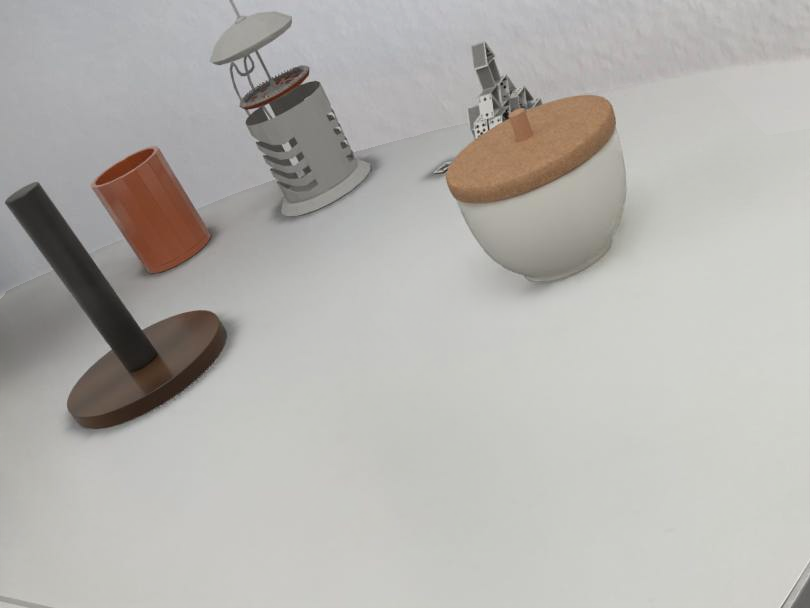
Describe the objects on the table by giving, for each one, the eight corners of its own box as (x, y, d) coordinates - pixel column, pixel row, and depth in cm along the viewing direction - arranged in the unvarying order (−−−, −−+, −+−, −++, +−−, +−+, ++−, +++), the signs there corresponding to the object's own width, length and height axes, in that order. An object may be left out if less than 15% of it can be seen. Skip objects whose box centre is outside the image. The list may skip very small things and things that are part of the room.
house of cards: (469, 127, 91) (435, 39, 86) (553, 103, 86) (523, 8, 81) (431, 176, 86) (392, 85, 81) (518, 153, 81) (483, 55, 76)
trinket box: (606, 196, 69) (563, 55, 62) (676, 238, 60) (633, 80, 54) (471, 272, 69) (414, 139, 63) (522, 324, 61) (462, 177, 55)
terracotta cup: (135, 272, 101) (79, 188, 95) (188, 232, 104) (136, 147, 98) (168, 275, 96) (111, 186, 90) (223, 232, 99) (171, 143, 93)
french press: (310, 220, 91) (147, -91, 74) (256, 212, 99) (99, -69, 83) (389, 162, 93) (248, -151, 77) (330, 159, 101) (192, -124, 85)
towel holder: (51, 415, 82) (-89, 246, 72) (175, 317, 87) (60, 144, 77) (122, 441, 73) (-27, 249, 63) (257, 329, 77) (138, 133, 67)
